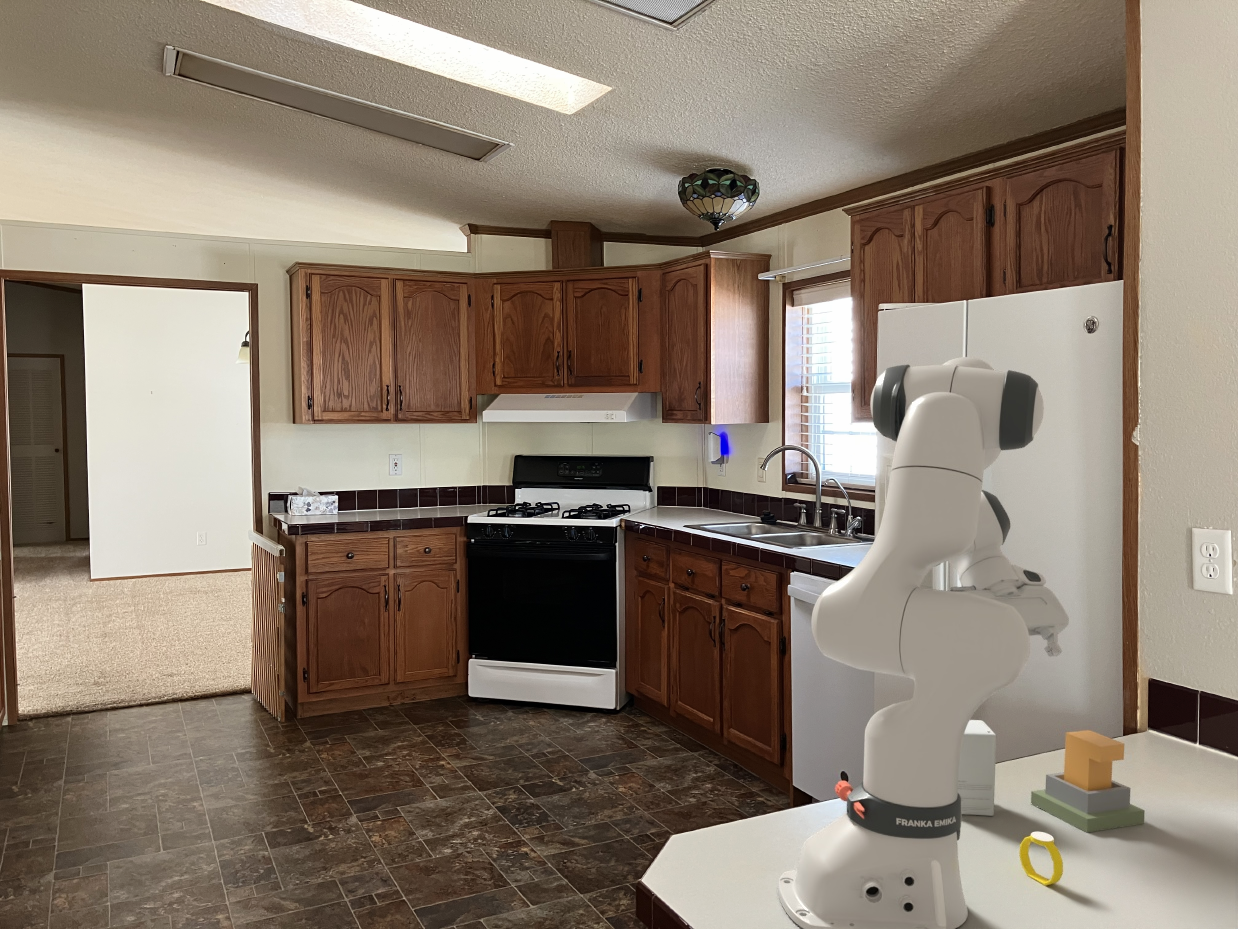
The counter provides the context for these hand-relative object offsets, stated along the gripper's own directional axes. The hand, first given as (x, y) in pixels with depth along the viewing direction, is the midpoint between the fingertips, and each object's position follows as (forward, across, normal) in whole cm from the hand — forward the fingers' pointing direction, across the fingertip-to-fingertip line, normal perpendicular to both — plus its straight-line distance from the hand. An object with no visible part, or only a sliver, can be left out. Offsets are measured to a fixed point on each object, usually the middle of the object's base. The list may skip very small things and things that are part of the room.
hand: (1033, 656), depth 155 cm
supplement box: (+17, -14, +15) cm, 27 cm away
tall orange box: (+21, +2, +7) cm, 22 cm away
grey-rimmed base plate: (+22, +2, +9) cm, 24 cm away
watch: (+34, -21, -1) cm, 40 cm away
